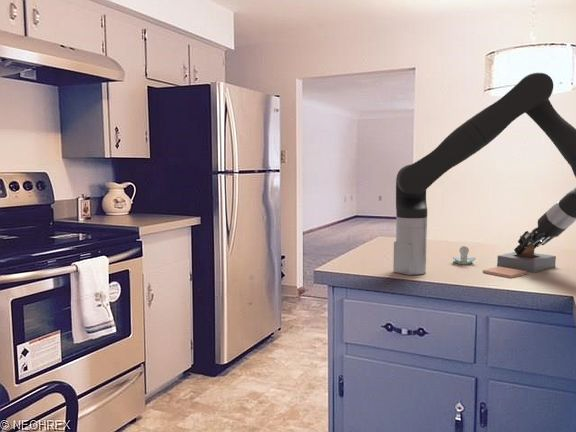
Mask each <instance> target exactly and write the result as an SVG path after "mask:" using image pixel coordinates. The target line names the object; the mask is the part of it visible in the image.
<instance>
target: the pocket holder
mask: <svg viewBox="0 0 576 432" xmlns="http://www.w3.org/2000/svg"><path fill="white" fill-rule="evenodd" d="M556 257H557V256H556V255H551V254H545V253H536V252H534V258H525V257H519V255H517V254H516V252H515V251H512V252H507V253H503V254H499V255H497V261H496V262H497V263H496V267H498V266H499V267H505V268H511V269H517V270H523V271H527V272H530V273H536V272H537V271H538V272H541V271H545V270H548V269H551V268H554V267H556V259H557V258H556ZM544 269H545V270H544ZM540 270H541V271H540ZM538 272H537V273H538Z"/></svg>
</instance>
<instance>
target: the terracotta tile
mask: <svg viewBox="0 0 576 432" xmlns="http://www.w3.org/2000/svg"><path fill="white" fill-rule="evenodd" d="M527 272H528V271H523V270H517V269H511V268H505V267H499V266H495V267H492V268H491V267H490V268H486V269H482V273H483V274H486V275H487V274H488V275H492V276H498V277H504V278H509V279H512V278H517V277H519V276H523V275H526V274H527Z"/></svg>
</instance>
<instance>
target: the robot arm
mask: <svg viewBox="0 0 576 432" xmlns="http://www.w3.org/2000/svg"><path fill="white" fill-rule="evenodd" d="M553 91H554V81H553V79H552V77H551V76H550V75H549V74H547V73H545V72H532V73H529V74H527V75H525V76H523V78H522V79H520V81H519V82H518V83H517V84H516V85H514V87H512V88H511V89H510V90H509V91H508V92H506V93H505V94H504V95H503V96H501V98H499V99H498V100H497V101H495V102H493V103H492V104H490V105H489V106H487V107H485V108H483V109H482V110H481V111H479V112H478V113H475V114H474V115H473V116H472V117H471V118H468V119H467V120H466V121H465V122H463V123H461V125H459V126H458V127H456V128H455V129H454V130H453V131H452V132H451V133H449V135H447V136H446V137H445V138H444V140H442V141H441V143H439V144H438V146H436V147H435V149H433V150H432V151H431V152H429V153H427V154H426V155H425V156H423V157H422V158H420V159H418V160H417V161H415V162H413V163H412V164H407V165H405V166H403V167H401V168H400V169H399V170H398V173H397V174H396V179H395V210H396V212H395V213H396V217H395V218H396V219H395V220H396V223H395V241H394V242H393V262H392V263H393V268H392V269H393V270H392V272H393V273H398V274H401V275H403V274H404V275H406V276H411V275H415V276H416V275H423V274H426V272H427V243H428V242H427V239H428V238H427V235H428V206H427V189H428V188H430V186H432V185H433V184H434V183H435V182H436V181H437V180H438V179H439V178H441V177H442V176H443V175H444V174H446V172H448V171H450V169H453V168H454V167H456V166H458V165H460V164H461V163H462V162H464V161H466V160H468V159H469V158H470V157H472V156H474V155H475V154H476V153H477V152H479V151H481V150H482V149H483V148H484V147H486V146H487V145H488V144H490V143H491V142H493V140H495V139H496V137H498V136H499V135H500V134H501V133H502V132H503V131H504V130H505V129H506V128H508V127H509V125H510V124H512V122H514V121H515V120H516V119H518V118H519V117H520V116H522V115H524V114H526V115H527V116H528V117H529V118H530V119H531V120H532V121H534V122H535V124H536V125H537V126H538V128H540V129H541V130H542V132H544V133H545V135H546V136H547V137H548V139H549V140H550V141H551V142H552V143H553V145H554V146H555V147H556V149H557V150H558V151H559V153H560V154H561V156H562V158H564V160H565V161H566V162H567V164H568V165H569V166H570V168H571V170H572V173H573V175H574V178H576V128H575V127H574V126H573V125H572V124H571V123H569V122H568V121H567V120H565V118H563V116H562V115H560V114H559V113H558V112H557V111H556V109H555V108H554V106H553V104H552V103H551V100H550V98H551V96H552V94H553ZM575 222H576V187H575V188H573V189H572V190H570V191H569V192H567V193H566V194H565V195H563V197H562V198H561V199H560V200H558V201H557V202H556V203H555V204H553V205H552V206H551V207H550V208H549V209H548V210H547V211H545V213H543V214H542V215H541V216H540V217H539V218H538V219H537V226H536V227H535V228H533V229H532V231H531V232H529V231H528V230H526V231H524V232H523V234H521V235H522V236H521V238H520V237H519V239H518V240H517V242H518V245H516V247H515V248H513V249H514V250H513V252H516V254H517V255H519V254H521V253H522V252H523V251H524V250H525V249H526V248H527V247H529V246H530V245H534V244H535V249H536V248H539V247H540V246H545V245H546V244H548V242H551V240H553V239H554V238H558V237H559V236H560V235H562V233H564V232H565V231H566V230H567V229H568V228H570V227H571V226H572V225H573V224H574V223H575ZM532 239H533V241H534V242H533V241H532Z"/></svg>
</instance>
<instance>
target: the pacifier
mask: <svg viewBox="0 0 576 432" xmlns="http://www.w3.org/2000/svg"><path fill="white" fill-rule="evenodd" d="M469 251H470V249H469V247H468V246H466V245H462V246H461V247H459V251H458V252H459V254H460V257H456V256H452V259H453V263H455V264H456V263H457V264H458V265H470V264H473V263H474V261H475V260H476V259H477V258H476V257H469V258H468V254H469Z"/></svg>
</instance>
